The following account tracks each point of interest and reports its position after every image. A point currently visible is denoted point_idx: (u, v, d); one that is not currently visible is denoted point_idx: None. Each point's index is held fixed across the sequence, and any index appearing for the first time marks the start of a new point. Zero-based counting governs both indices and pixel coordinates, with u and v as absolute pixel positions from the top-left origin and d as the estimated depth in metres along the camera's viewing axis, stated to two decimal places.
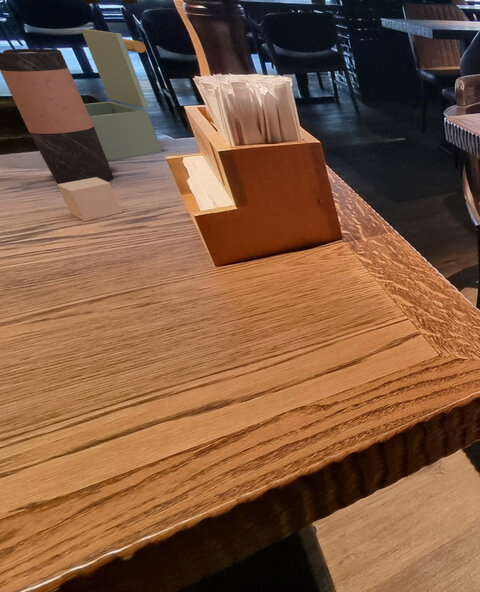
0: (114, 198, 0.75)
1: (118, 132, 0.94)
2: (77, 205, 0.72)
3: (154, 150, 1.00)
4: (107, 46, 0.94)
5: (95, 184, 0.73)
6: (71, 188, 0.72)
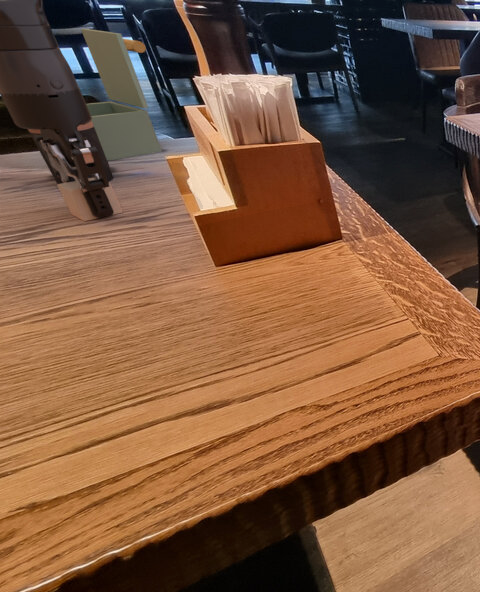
0: (114, 198, 0.75)
1: (118, 132, 0.94)
2: (77, 205, 0.72)
3: (154, 150, 1.00)
4: (107, 46, 0.94)
5: None
6: (71, 188, 0.72)
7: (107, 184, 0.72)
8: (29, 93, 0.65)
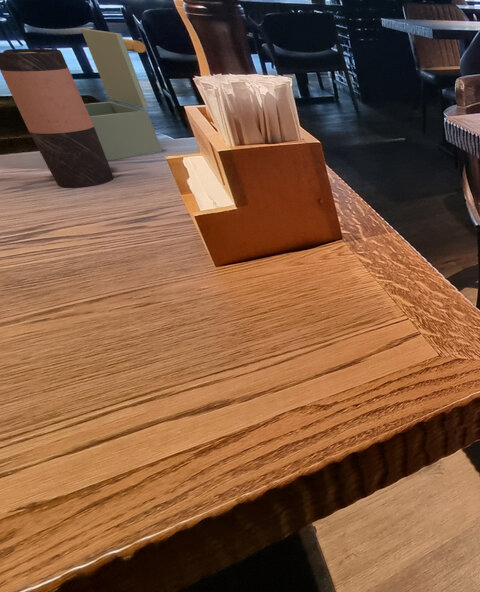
0: None
1: (118, 132, 0.94)
2: None
3: (154, 150, 1.00)
4: (107, 46, 0.94)
5: None
6: None
7: None
8: None
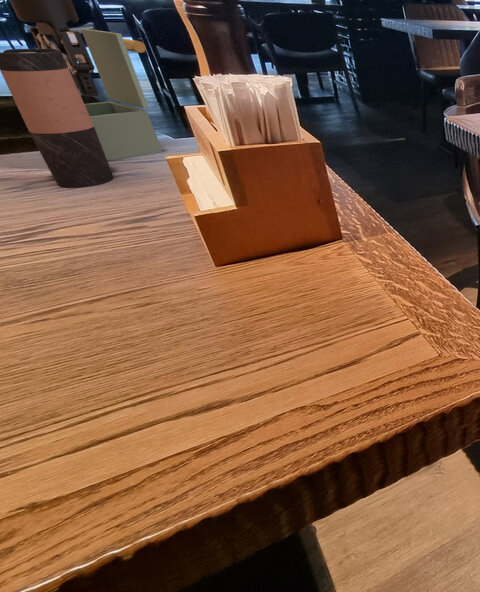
0: None
1: (118, 132, 0.94)
2: None
3: (154, 150, 1.00)
4: (107, 46, 0.94)
5: None
6: None
7: (92, 66, 0.89)
8: None
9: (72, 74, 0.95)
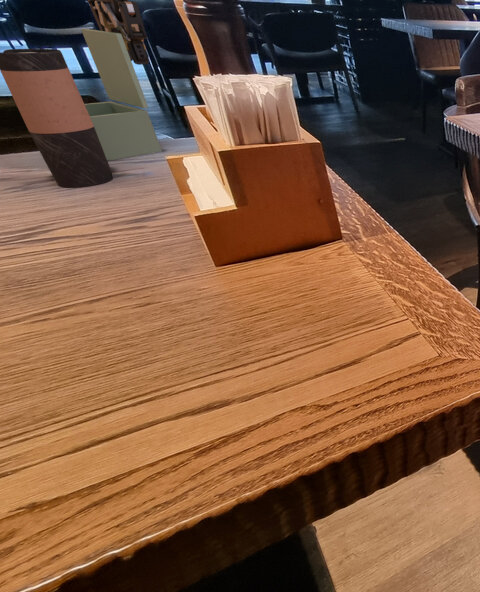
0: None
1: (118, 132, 0.94)
2: None
3: (154, 150, 1.00)
4: (107, 46, 0.94)
5: None
6: None
7: (145, 35, 0.95)
8: None
9: None
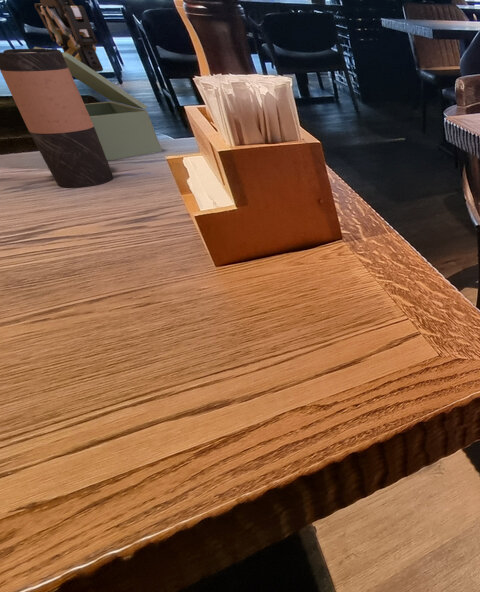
0: None
1: (118, 132, 0.94)
2: None
3: (154, 150, 1.00)
4: (68, 65, 0.90)
5: None
6: None
7: (95, 40, 0.89)
8: None
9: None
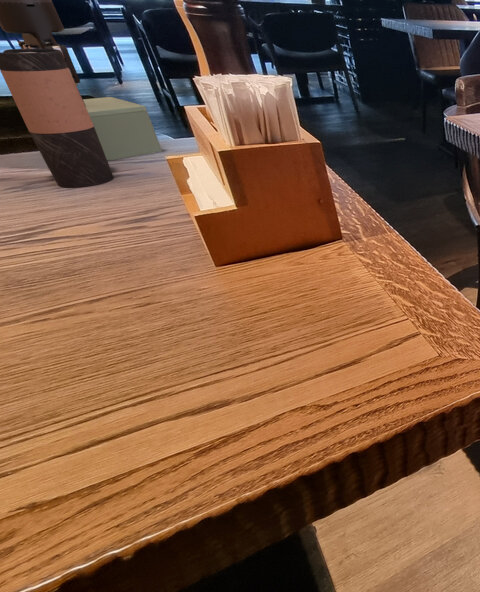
0: None
1: (118, 132, 0.94)
2: None
3: (154, 150, 1.00)
4: None
5: None
6: None
7: (78, 79, 0.89)
8: (11, 2, 0.82)
9: None
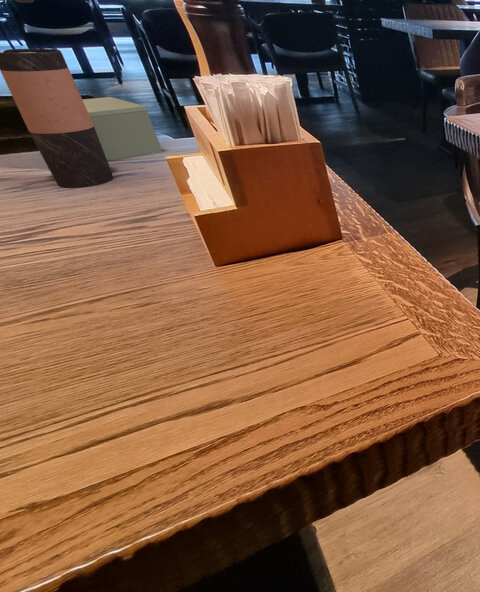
0: None
1: (118, 132, 0.94)
2: None
3: (154, 150, 1.00)
4: None
5: None
6: None
7: None
8: None
9: None
